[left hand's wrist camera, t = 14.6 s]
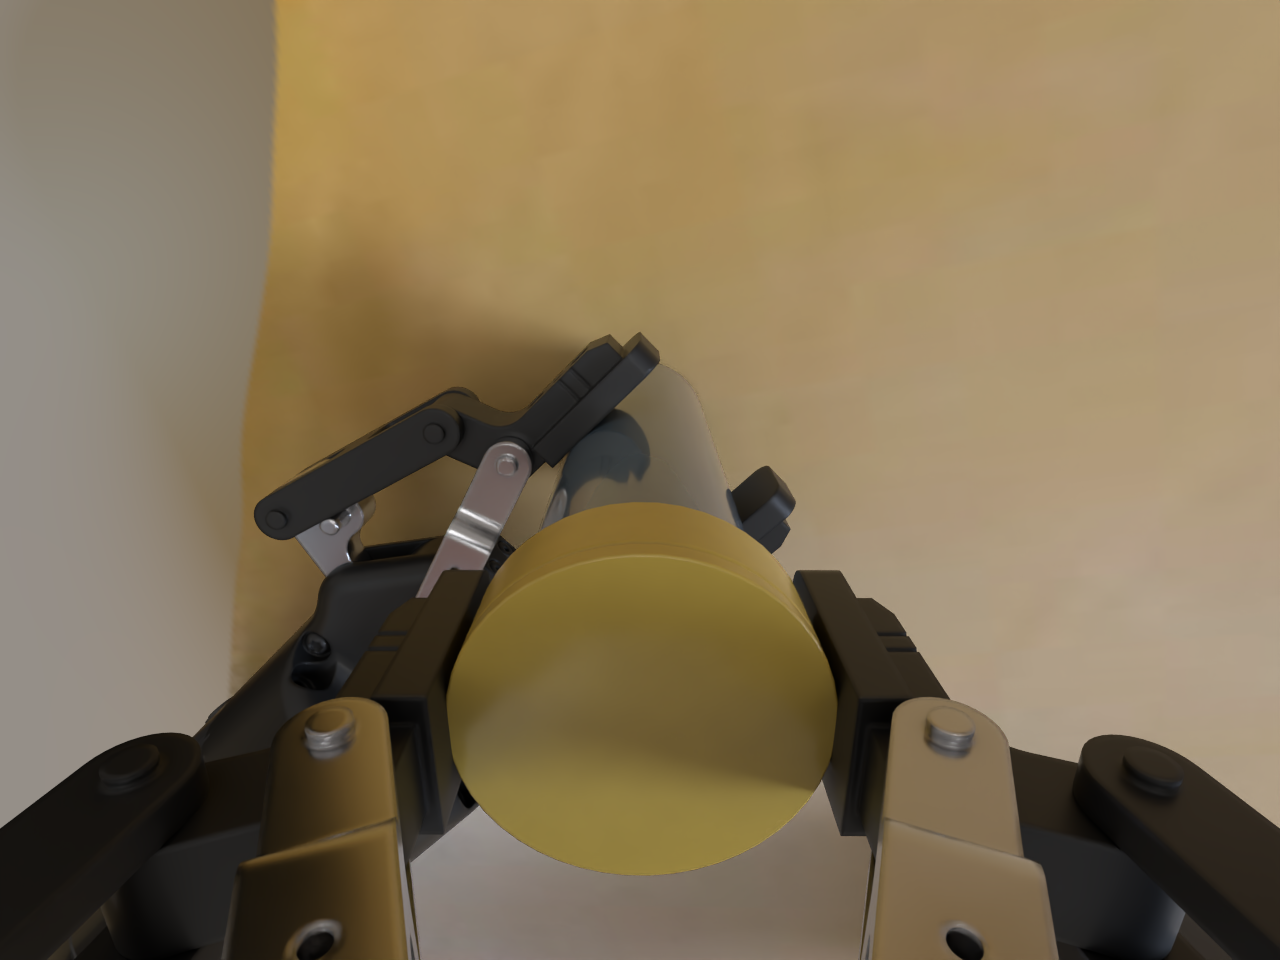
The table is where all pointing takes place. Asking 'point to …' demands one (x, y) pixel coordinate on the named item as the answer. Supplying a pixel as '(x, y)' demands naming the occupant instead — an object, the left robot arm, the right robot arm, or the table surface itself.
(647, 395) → the blue grey cylinder
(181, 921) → the left robot arm
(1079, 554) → the table surface
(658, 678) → the lid
